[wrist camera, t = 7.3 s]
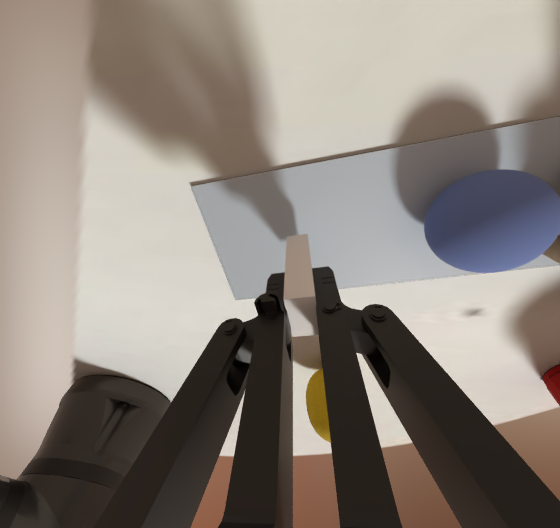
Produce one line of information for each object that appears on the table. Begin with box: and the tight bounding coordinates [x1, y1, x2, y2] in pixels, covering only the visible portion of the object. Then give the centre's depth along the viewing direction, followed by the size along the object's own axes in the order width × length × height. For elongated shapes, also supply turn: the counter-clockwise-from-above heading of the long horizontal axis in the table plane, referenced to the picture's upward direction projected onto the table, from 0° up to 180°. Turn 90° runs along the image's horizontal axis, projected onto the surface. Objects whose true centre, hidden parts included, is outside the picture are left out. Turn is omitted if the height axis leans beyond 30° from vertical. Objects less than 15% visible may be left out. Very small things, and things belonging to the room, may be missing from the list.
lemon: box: [306, 369, 331, 442], centre depth 24 cm, size 6×6×8 cm
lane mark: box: [191, 116, 560, 300], centre depth 17 cm, size 29×11×1 cm, turn 101°
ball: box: [424, 169, 560, 273], centre depth 13 cm, size 6×6×6 cm
